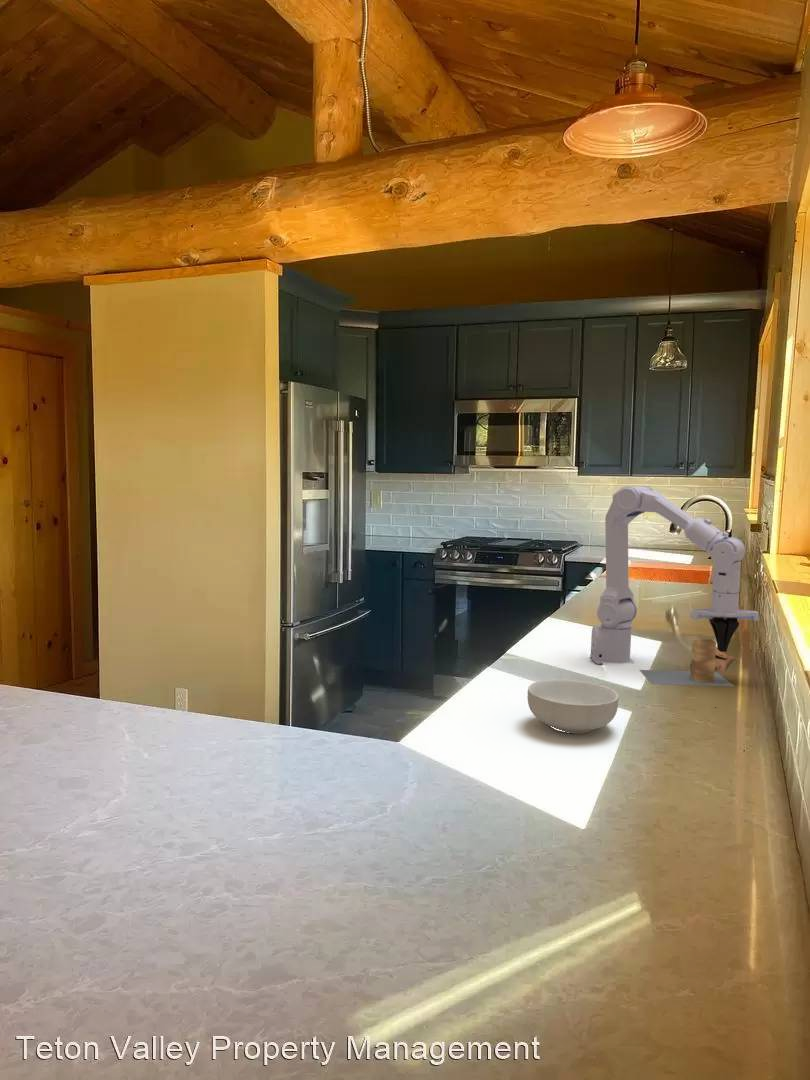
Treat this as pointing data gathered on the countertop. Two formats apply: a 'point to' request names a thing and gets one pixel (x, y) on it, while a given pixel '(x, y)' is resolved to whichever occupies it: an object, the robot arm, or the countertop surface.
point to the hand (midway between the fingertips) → (722, 650)
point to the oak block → (703, 660)
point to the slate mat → (680, 678)
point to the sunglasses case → (722, 660)
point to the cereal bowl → (572, 704)
